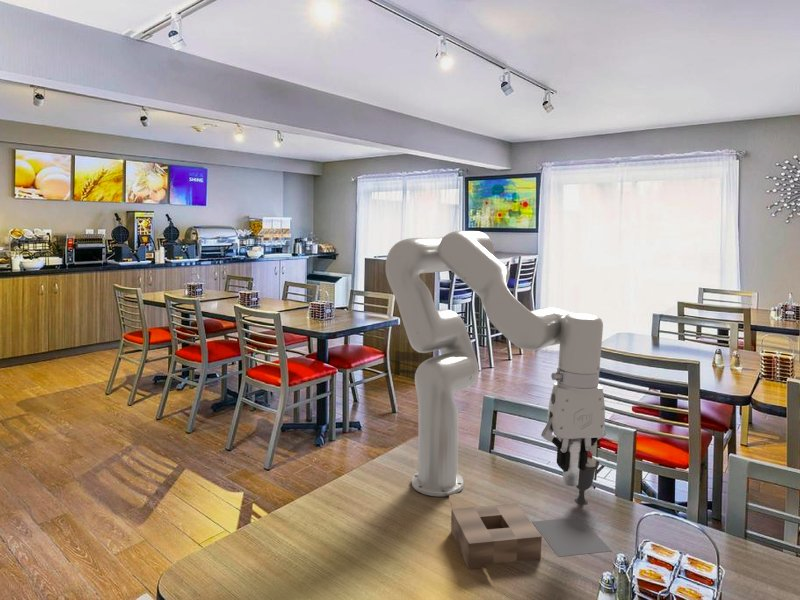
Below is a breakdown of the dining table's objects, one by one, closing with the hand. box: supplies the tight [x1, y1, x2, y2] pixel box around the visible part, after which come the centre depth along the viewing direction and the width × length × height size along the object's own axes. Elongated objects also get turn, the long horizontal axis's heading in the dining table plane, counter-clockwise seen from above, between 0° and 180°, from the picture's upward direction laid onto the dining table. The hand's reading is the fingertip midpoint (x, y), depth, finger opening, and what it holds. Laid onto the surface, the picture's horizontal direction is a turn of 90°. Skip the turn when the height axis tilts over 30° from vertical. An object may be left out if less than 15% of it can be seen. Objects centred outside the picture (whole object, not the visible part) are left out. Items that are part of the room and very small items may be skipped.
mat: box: [531, 516, 613, 558], centre depth 105 cm, size 12×11×1 cm
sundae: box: [574, 443, 600, 506], centre depth 117 cm, size 7×7×15 cm
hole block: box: [450, 503, 543, 570], centre depth 102 cm, size 12×14×5 cm
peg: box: [562, 439, 582, 487], centre depth 103 cm, size 3×3×10 cm
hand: (571, 467), depth 104 cm, fingers closed on peg, 3 cm apart
